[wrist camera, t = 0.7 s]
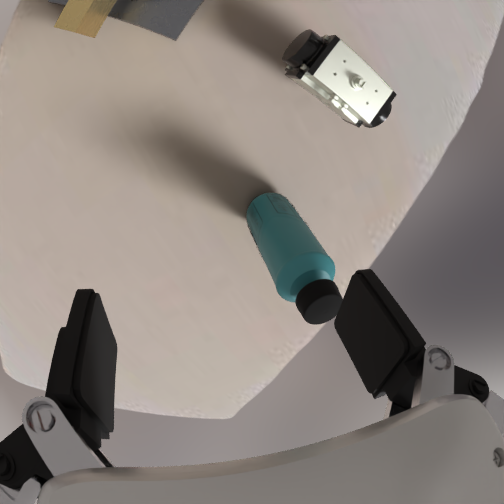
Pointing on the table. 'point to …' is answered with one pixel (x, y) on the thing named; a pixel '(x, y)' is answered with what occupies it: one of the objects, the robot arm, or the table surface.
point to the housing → (153, 14)
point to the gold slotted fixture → (84, 16)
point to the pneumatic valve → (338, 78)
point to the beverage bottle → (294, 258)
